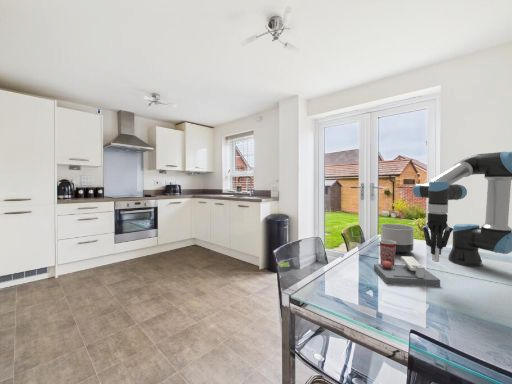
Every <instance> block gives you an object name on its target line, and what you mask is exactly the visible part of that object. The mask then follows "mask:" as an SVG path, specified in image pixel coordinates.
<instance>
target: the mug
mask: <svg viewBox="0 0 512 384" xmlns="http://www.w3.org/2000/svg"><path fill="white" fill-rule="evenodd" d="M396 244H397V243H396V242H395V241H391V240H381V239H380V240H379V253H380V254H379V255H380V264H382V262H383V261H389V262H391V263H392V265H395V259H396V253H395V252H396Z"/></svg>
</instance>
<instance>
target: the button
mask: <svg viewBox="0 0 512 384" xmlns="http://www.w3.org/2000/svg"><path fill="white" fill-rule="evenodd" d="M381 264H382V266H383V267H384V268H392V263H391V262H389V261H383V262H382V263H381Z"/></svg>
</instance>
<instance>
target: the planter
mask: <svg viewBox="0 0 512 384" xmlns="http://www.w3.org/2000/svg"><path fill="white" fill-rule="evenodd" d="M380 227H381V228H380V240H391V241H395V242H396V243H397V244H396V252H395V254H406V253H407V252H412V251H414V236H415V234H414V233H415V232H414V231H415V229H414V227H413V226H411V225H408V224H407V225H406V224H402V223H401V224H400V223H399V224H398V223H384V224H383V223H382V224H381V226H380Z"/></svg>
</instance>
